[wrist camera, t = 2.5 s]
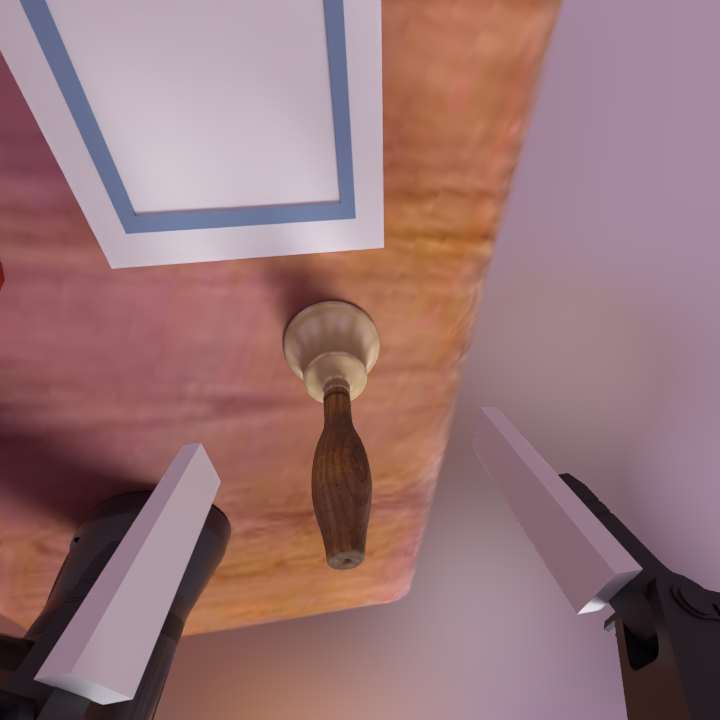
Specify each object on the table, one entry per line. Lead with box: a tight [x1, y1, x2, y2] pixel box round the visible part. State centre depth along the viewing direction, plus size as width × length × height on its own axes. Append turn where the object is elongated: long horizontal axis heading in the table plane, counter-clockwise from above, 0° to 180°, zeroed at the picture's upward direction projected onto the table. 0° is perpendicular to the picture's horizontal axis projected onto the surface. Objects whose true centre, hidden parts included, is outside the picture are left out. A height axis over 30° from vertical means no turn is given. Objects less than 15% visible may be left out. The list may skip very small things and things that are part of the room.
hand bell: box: [284, 301, 380, 570], centre depth 15 cm, size 8×8×16 cm
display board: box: [0, 0, 384, 269], centre depth 13 cm, size 16×16×3 cm
